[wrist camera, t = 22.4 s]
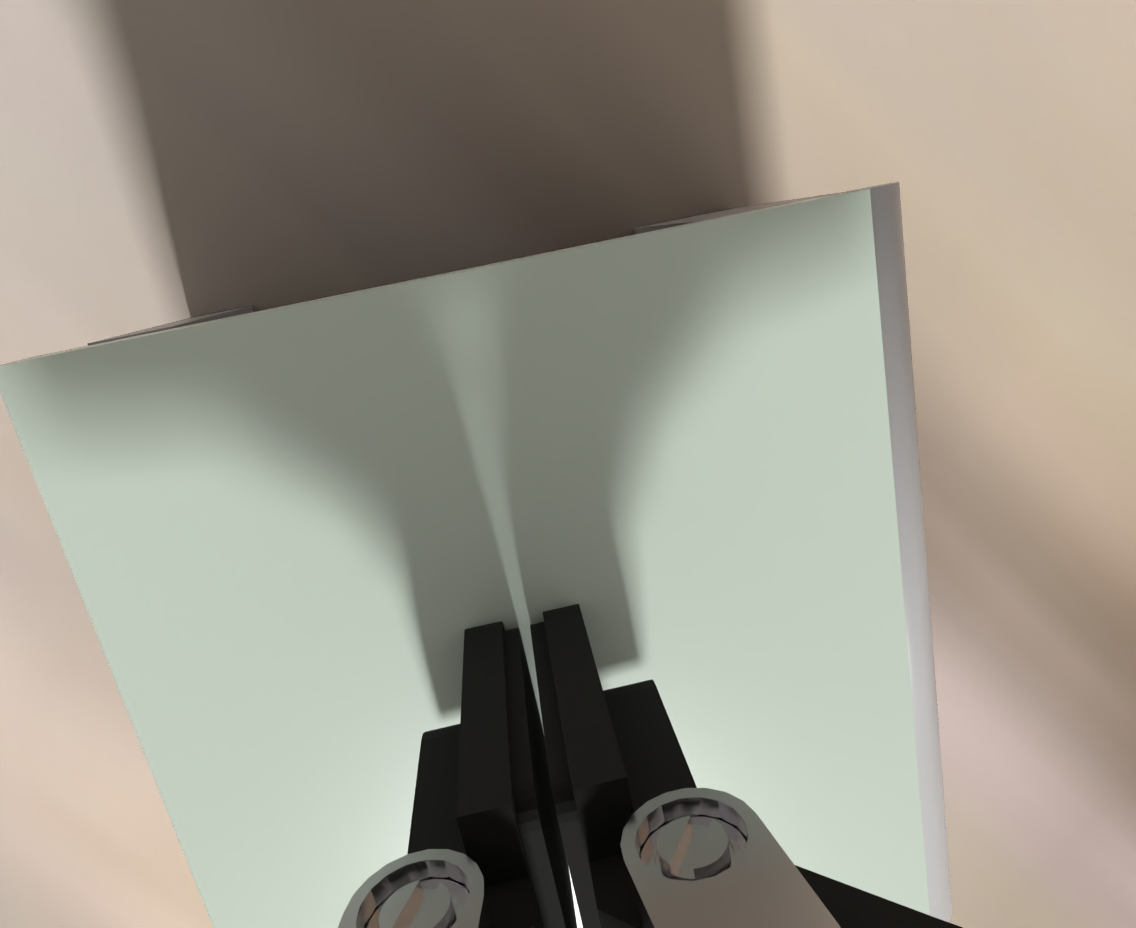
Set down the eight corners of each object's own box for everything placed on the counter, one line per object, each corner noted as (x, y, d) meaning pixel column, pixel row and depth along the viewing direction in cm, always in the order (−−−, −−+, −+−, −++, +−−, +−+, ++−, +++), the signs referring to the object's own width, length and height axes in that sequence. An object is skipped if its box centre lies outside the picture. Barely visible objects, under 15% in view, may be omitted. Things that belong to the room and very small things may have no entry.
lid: (33, 356, 10) (-10, 367, 9) (875, 185, 11) (915, 179, 10) (299, 1050, 14) (287, 1111, 13) (931, 877, 14) (964, 922, 14)
